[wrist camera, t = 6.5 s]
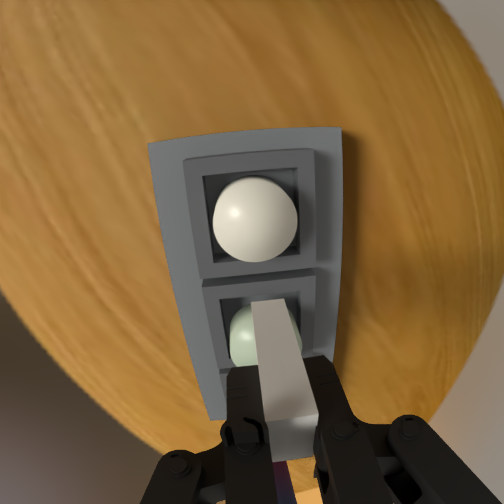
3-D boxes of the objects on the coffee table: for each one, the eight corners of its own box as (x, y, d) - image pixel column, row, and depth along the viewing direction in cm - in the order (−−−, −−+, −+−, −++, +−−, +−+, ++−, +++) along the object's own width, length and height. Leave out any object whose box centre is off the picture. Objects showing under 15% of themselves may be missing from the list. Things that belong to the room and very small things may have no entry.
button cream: (211, 179, 17) (208, 186, 15) (287, 172, 18) (295, 178, 15) (219, 249, 19) (218, 266, 17) (290, 242, 19) (298, 257, 17)
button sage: (225, 304, 19) (225, 326, 17) (295, 297, 20) (302, 317, 17) (233, 355, 21) (234, 378, 19) (295, 348, 21) (301, 370, 19)
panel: (155, 142, 18) (140, 144, 15) (331, 127, 19) (349, 127, 16) (210, 406, 29) (209, 431, 25) (321, 393, 29) (329, 417, 26)
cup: (296, 433, 32) (317, 537, 18) (279, 456, 35) (293, 547, 21) (243, 430, 31) (251, 542, 17) (231, 454, 33) (236, 550, 20)
